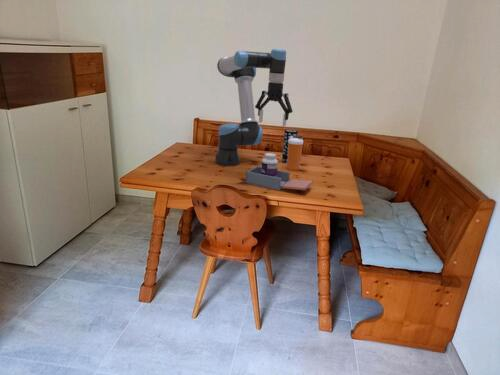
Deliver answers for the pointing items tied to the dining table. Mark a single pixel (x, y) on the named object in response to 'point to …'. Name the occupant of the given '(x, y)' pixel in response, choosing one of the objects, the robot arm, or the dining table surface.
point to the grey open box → (266, 178)
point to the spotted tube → (285, 144)
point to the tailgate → (297, 184)
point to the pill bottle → (269, 165)
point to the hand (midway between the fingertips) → (272, 124)
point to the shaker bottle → (294, 152)
